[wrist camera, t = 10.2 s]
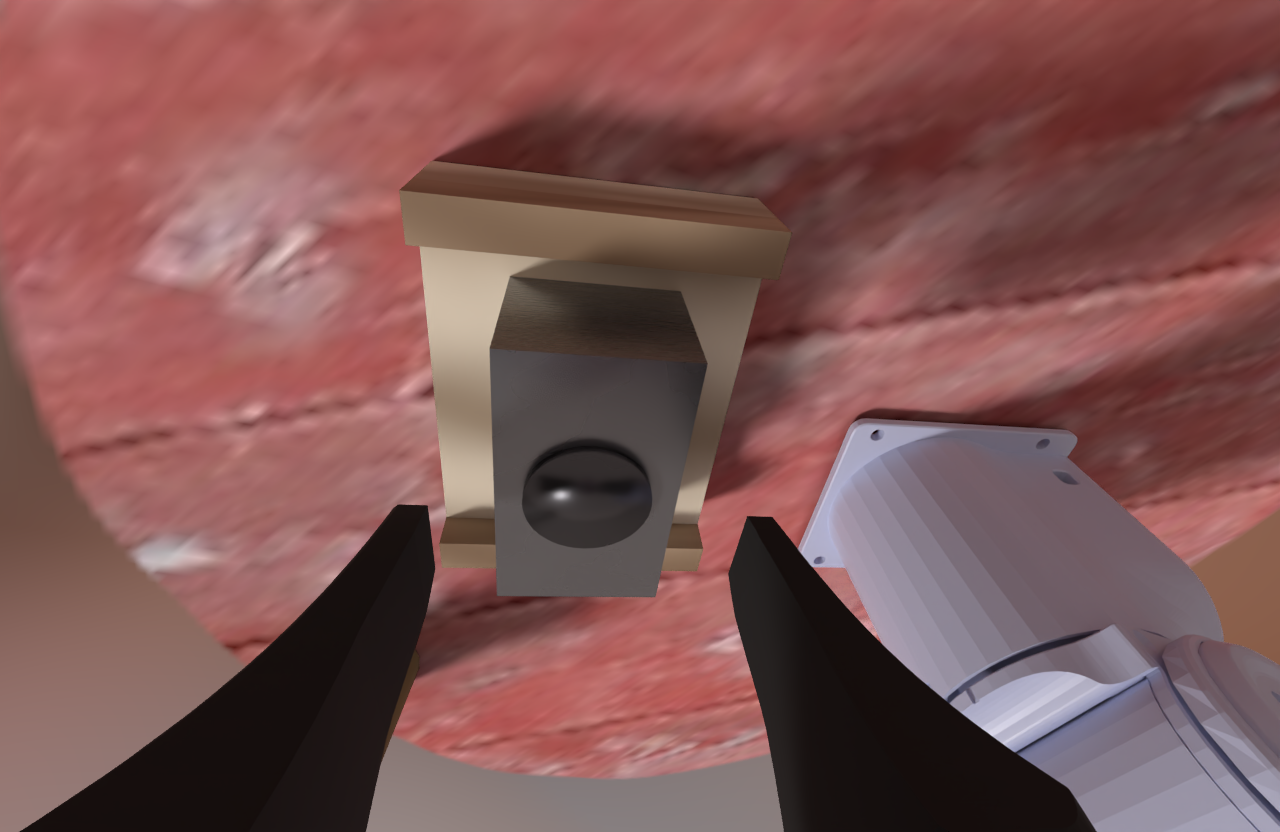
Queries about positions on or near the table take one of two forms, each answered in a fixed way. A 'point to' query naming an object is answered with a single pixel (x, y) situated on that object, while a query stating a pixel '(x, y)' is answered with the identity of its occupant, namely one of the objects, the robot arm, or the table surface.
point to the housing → (589, 434)
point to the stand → (578, 252)
